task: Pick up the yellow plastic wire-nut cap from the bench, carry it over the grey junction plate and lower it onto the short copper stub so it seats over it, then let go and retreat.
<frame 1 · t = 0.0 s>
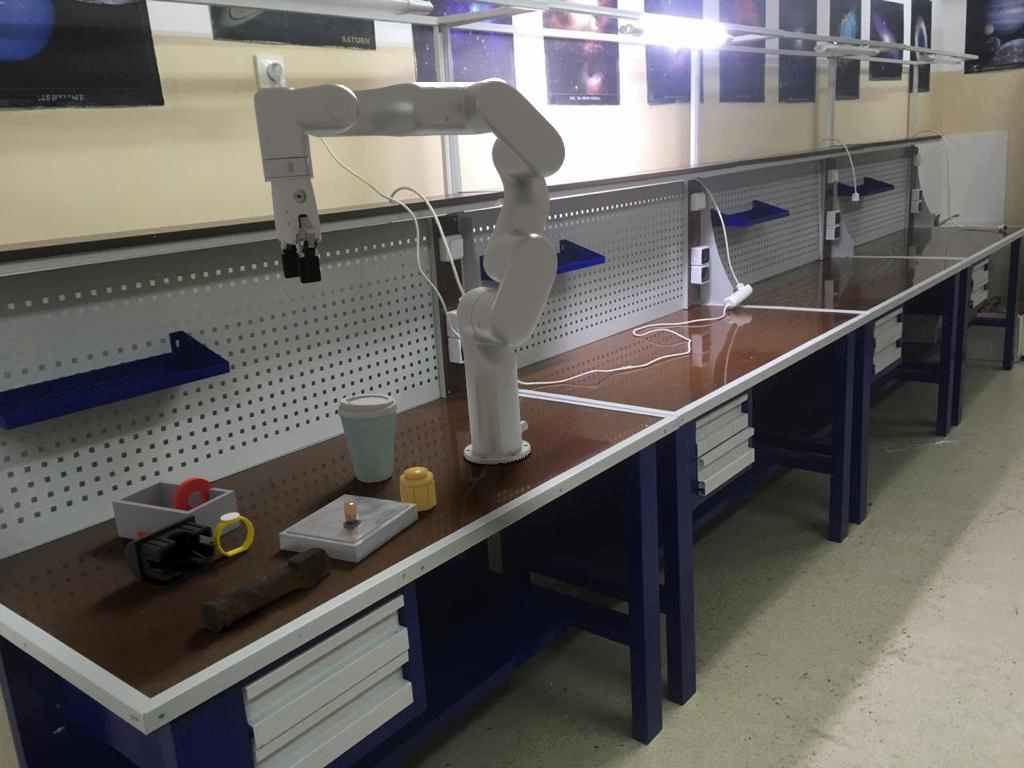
hand: (302, 279, 140), 37 cm above the table, tool pointing down, fingers open, 9 cm apart
disposable coffee cup: (376, 477, 157), on the table
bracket: (179, 529, 138), resting in parts corral
end cap: (175, 573, 124), on the table
watch: (236, 553, 129), on the table
junction plate: (351, 533, 133), on the table
hand tool: (272, 601, 114), on the table
parts corral: (179, 531, 138), on the table
wire nut: (419, 504, 142), on the table
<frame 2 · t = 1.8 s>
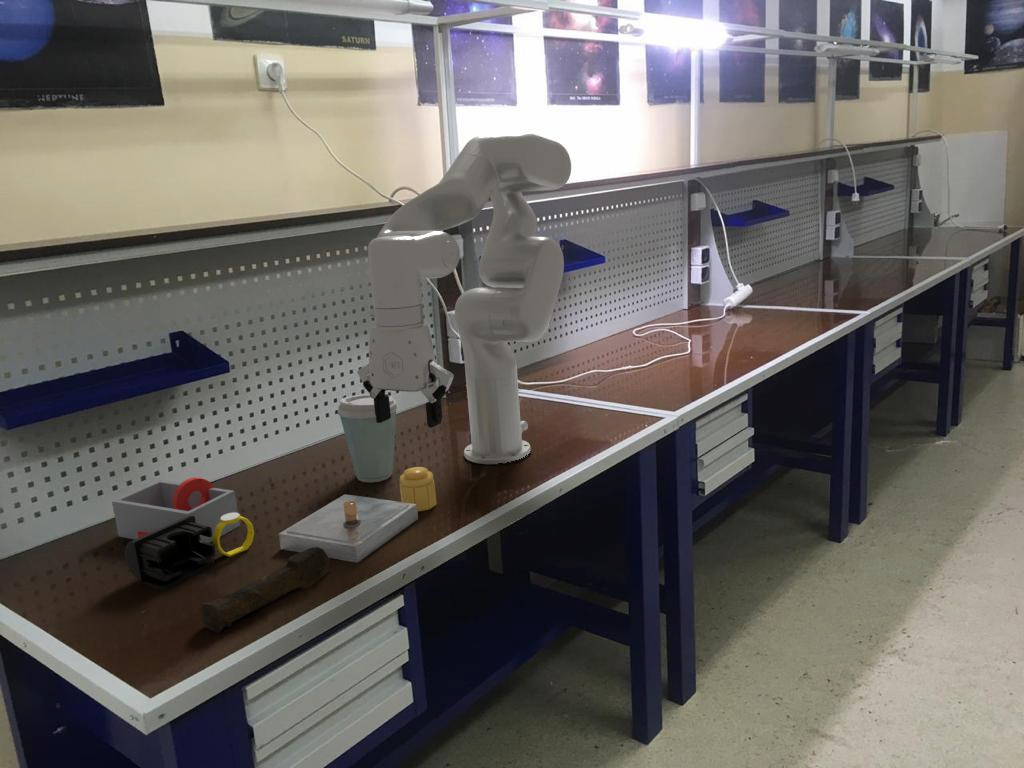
hand: (408, 422, 138), 14 cm above the table, tool pointing down, fingers open, 9 cm apart
nothing on the table moved.
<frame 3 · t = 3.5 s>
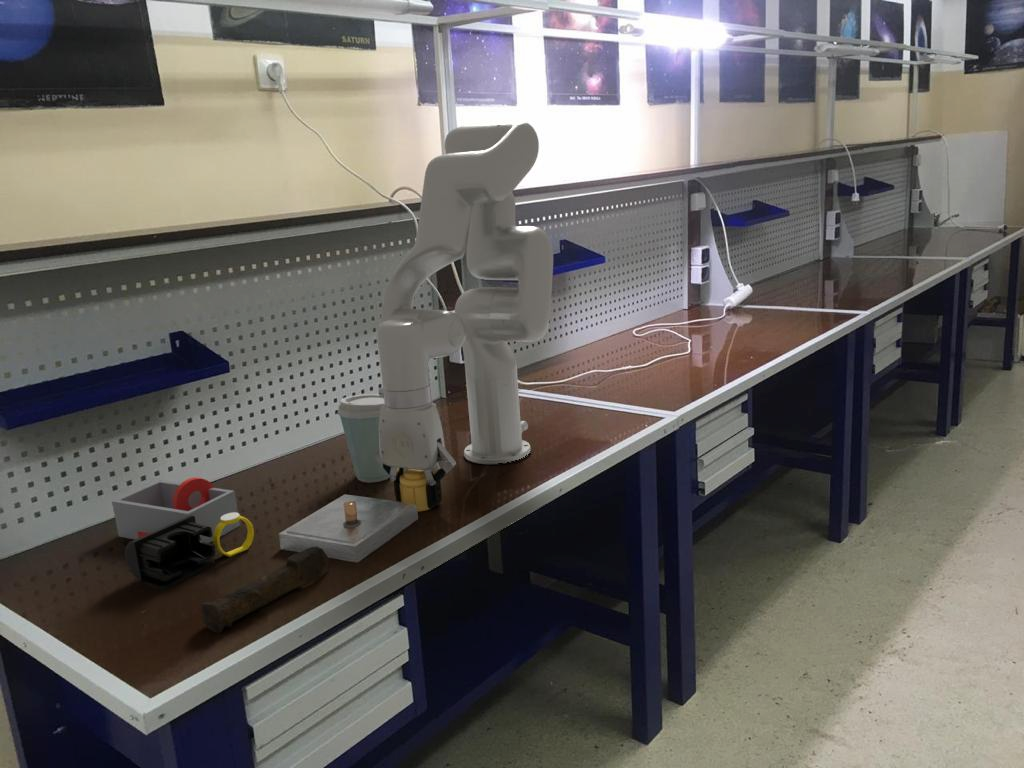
hand: (418, 502, 142), 0 cm above the table, tool pointing down, fingers closed on wire nut, 5 cm apart
wire nut: (419, 504, 142), on the table, touching gripper
everything else where it was.
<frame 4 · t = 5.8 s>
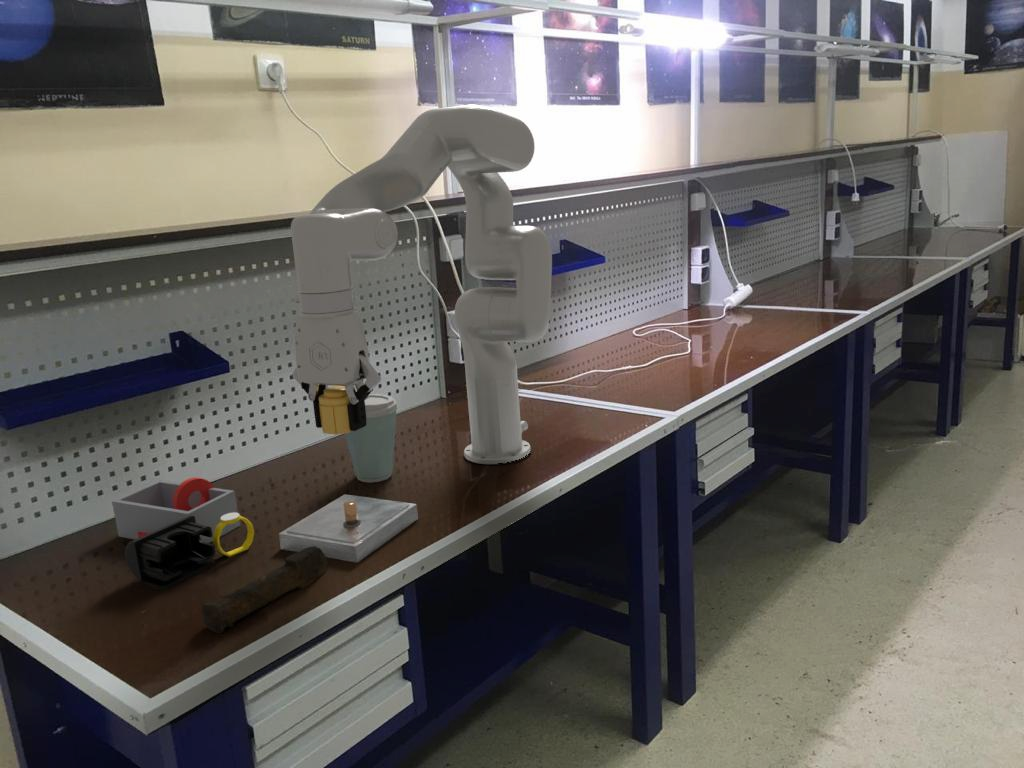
hand: (341, 425, 126), 18 cm above the table, tool pointing down, fingers closed on wire nut, 5 cm apart
wire nut: (341, 428, 126), point 18 cm above the table, touching gripper
everything else where it was.
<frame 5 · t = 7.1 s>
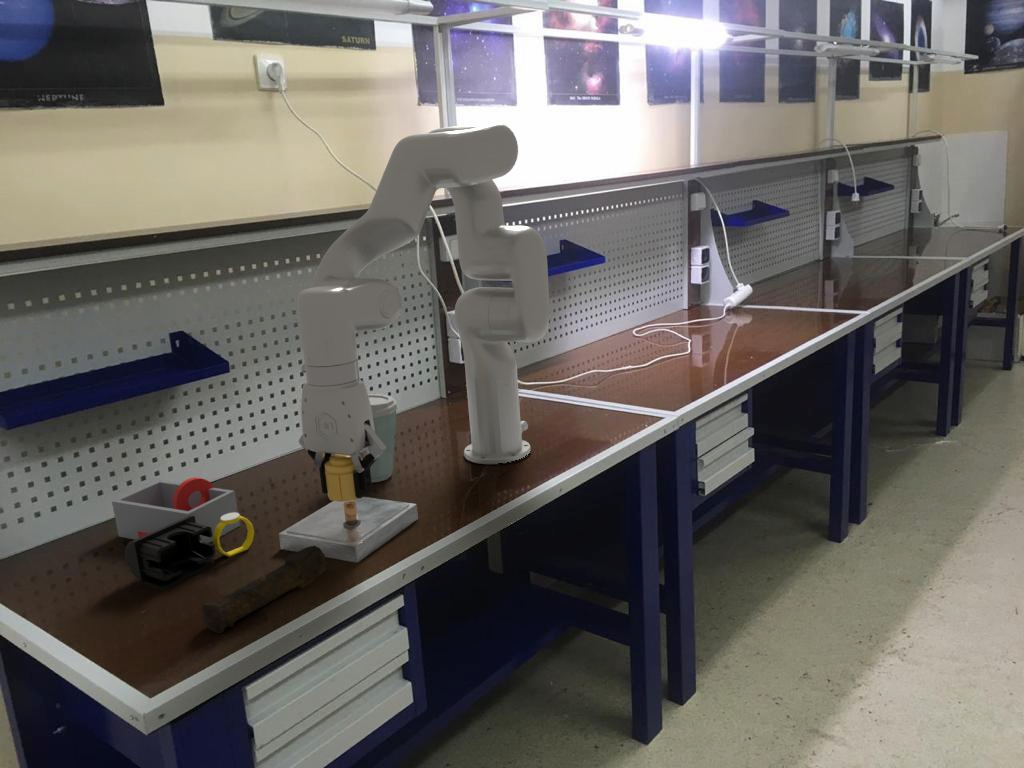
hand: (347, 491, 128), 8 cm above the table, tool pointing down, fingers closed on wire nut, 5 cm apart
wire nut: (347, 494, 128), point 8 cm above the table, touching gripper
everything else where it was.
when the fingers open (4 cm above the table, at t = 8.2 s): wire nut drops 1 cm, resting on junction plate.
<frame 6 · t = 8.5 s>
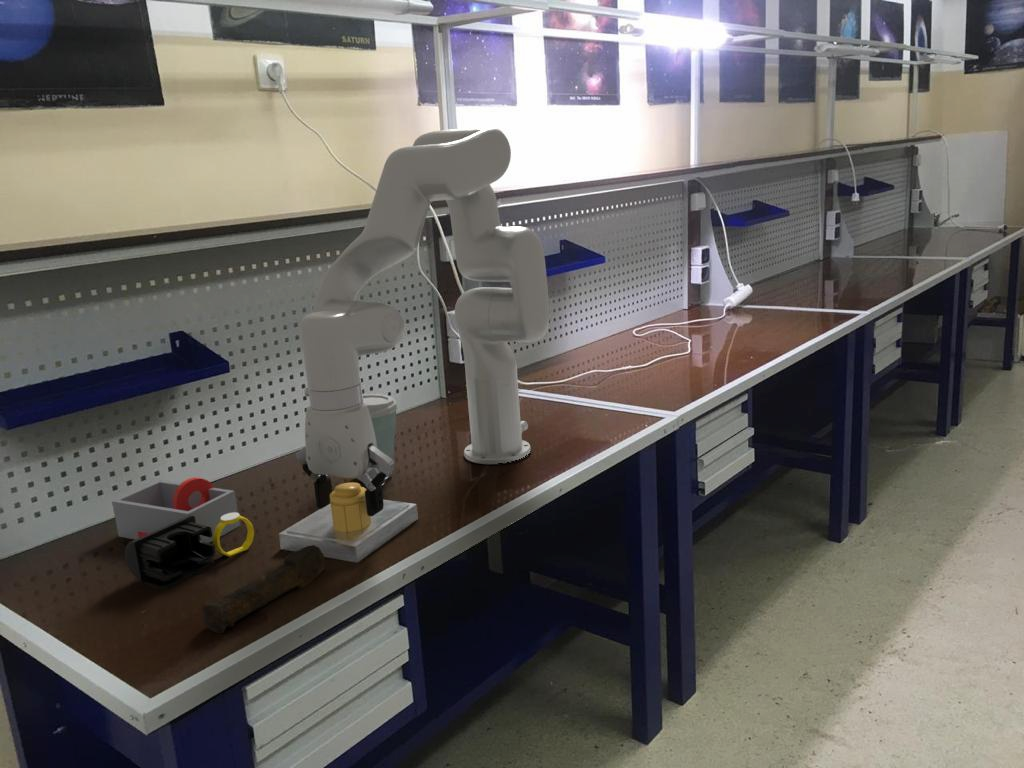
hand: (350, 508, 129), 5 cm above the table, tool pointing down, fingers open, 8 cm apart
wire nut: (352, 524, 129), point 3 cm above the table, touching junction plate
everything else where it was.
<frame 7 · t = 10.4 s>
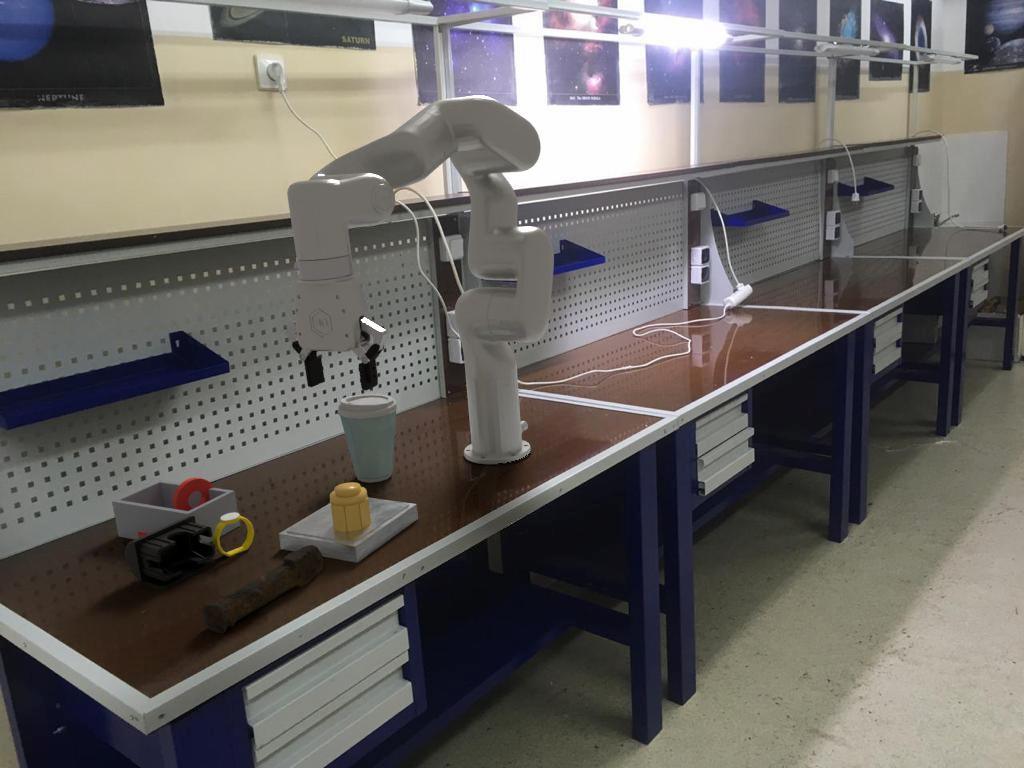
hand: (342, 386, 126), 23 cm above the table, tool pointing down, fingers open, 9 cm apart
nothing on the table moved.
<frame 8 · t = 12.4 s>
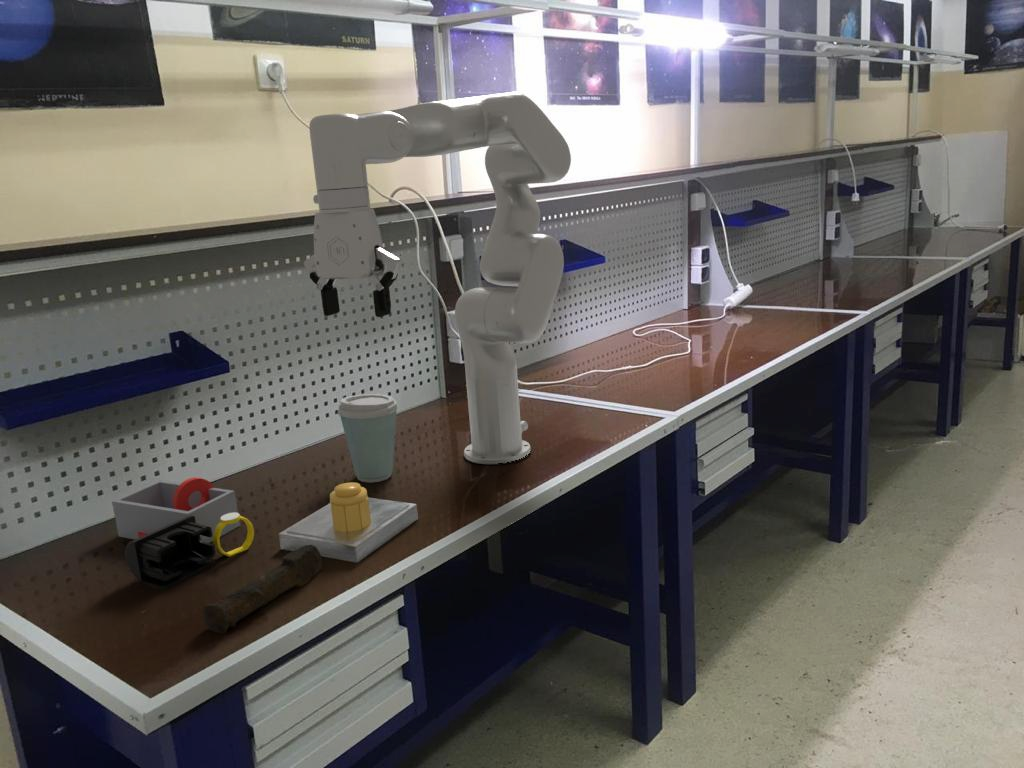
hand: (357, 314, 133), 32 cm above the table, tool pointing down, fingers open, 9 cm apart
nothing on the table moved.
at the end: wire nut 0.0 cm from the target spot, point 2.7 cm above the table; wire nut tilted 0°; the gripper is holding nothing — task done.
